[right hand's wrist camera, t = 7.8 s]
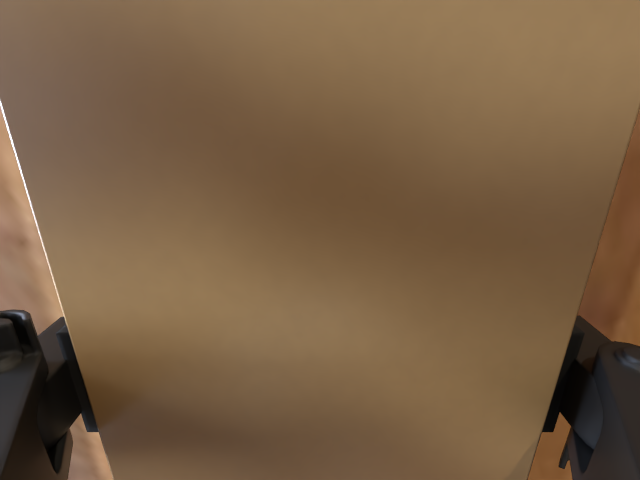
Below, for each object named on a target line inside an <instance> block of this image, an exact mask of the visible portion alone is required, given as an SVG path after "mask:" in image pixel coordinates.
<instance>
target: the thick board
mask: <svg viewBox="0 0 640 480" xmlns="http://www.w3.org/2000/svg"><path fill="white" fill-rule="evenodd" d="M0 106H1V109H2V112H3V116H4V119H5V122H6V126H7V129H8V132H9V136H10V139H11V142H12V146H13V149H14V152H15V156H16V159H17V162H18V166H19V169H20V172H21V175H22V179H23V182H24V185H25V189H26V192H27V195H28V199H29V202H30V205H31V209H32V212H33V215H34V219H35V222H36V225H37V229H38V232H39V235H40V238H41V242H42V245H43V248H44V252H45V255H46V258H47V262H48V265H49V268H50V272H51V275H52V278H53V282H54V285H55V288H56V292H57V295H58V298H59V301H60V305H61V308H62V311H63V315H64V318H65V321H66V325H67V328H68V331H69V335H70V338H71V341H72V345H73V348H74V351H75V355H76V358H77V361H78V365H79V368H80V371H81V374H82V378H83V381H84V384H85V388H86V391H87V394H88V398H89V401H90V404H91V408H92V411H93V414H94V418H95V421H96V424H97V428H98V431H99V434H100V437H101V441H102V444H103V447H104V451H105V454H106V457H107V461H108V464H109V467H110V471H111V474H112V477H113V480H527V479H528V476H529V472H530V469H531V466H532V462H533V459H534V456H535V452H536V449H537V446H538V443H539V439H540V436H541V433H542V429H543V426H544V423H545V419H546V416H547V413H548V410H549V406H550V403H551V400H552V396H553V393H554V390H555V387H556V383H557V380H558V377H559V373H560V370H561V367H562V363H563V360H564V357H565V354H566V350H567V347H568V344H569V340H570V337H571V334H572V330H573V327H574V324H575V321H576V317H577V314H578V311H579V307H580V304H581V301H582V297H583V294H584V291H585V288H586V284H587V281H588V278H589V274H590V271H591V268H592V264H593V261H594V258H595V255H596V251H597V248H598V245H599V241H600V238H601V235H602V231H603V228H604V225H605V222H606V218H607V215H608V212H609V208H610V205H611V202H612V199H613V195H614V192H615V189H616V185H617V182H618V179H619V175H620V172H621V169H622V166H623V162H624V159H625V156H626V152H627V149H628V146H629V142H630V139H631V136H632V133H633V129H634V126H635V123H636V119H637V116H638V113H639V109H640V0H0Z"/></svg>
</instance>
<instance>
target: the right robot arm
mask: <svg viewBox="0 0 640 480" xmlns="http://www.w3.org/2000/svg"><path fill="white" fill-rule="evenodd" d="M559 412H561V414H562V415H563V416H564V418H565V419H566V420H567V421H568V423H569V424H570V425H571V429H570V432H569V435H568V437H567V440H566V443H565V446H564V449H563V452H562V455H561V458H560V462H559V467H560V468H563V469H565V466H566V463H567V461H569V460H570V465H571V472H572V478H573V480H640V346H636V345H633V344H630V343H623V342H617V341H614V342H612V341H610V340H609V339H608V338H607V337H605V336H604V335H603V334H602V333H600V332H599V331H598V330H597V329H595V328H594V327H593V326H592V325H591V324H589V323H588V322H587V321H586V320H584V319H583V318H582V317H581V316H577V317H576V321H575V324H574V327H573V330H572V334H571V337H570V340H569V344H568V347H567V350H566V354H565V357H564V360H563V363H562V367H561V370H560V373H559V377H558V380H557V383H556V387H555V390H554V393H553V396H552V400H551V403H550V406H549V410H548V413H547V416H546V419H545V423H544V426H543V429H542V432H553V431H554V428H555V425H556V422H557V418H558V415H559ZM80 413H81V414H82V418H83V421H84V424H85V427H86V430H87V432H99V431H98V428H97V424H96V421H95V418H94V414H93V411H92V408H91V404H90V401H89V398H88V394H87V391H86V388H85V384H84V381H83V378H82V374H81V371H80V368H79V365H78V361H77V358H76V355H75V351H74V348H73V345H72V341H71V338H70V335H69V331H68V328H67V325H66V321H65V318H64V317H60V318H59V319H58V320H57V321H56V322H54V323H53V324H52V325H51V326H49V327H48V328H47V329H46V330H45V331H43V332H42V333H41V334H40V335H38V336H37V333H36V330H35V327H34V324H33V321H32V318H31V315H30V313H28V312H26V311H24V310H6V311H0V480H68V473H69V466H70V460H71V453H72V447H73V440H72V435H71V432H70V429H69V428H70V426H71V425H72V424H73V422H74V421H75V420H76V419H77V417H78V416H79V415H80Z"/></svg>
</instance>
